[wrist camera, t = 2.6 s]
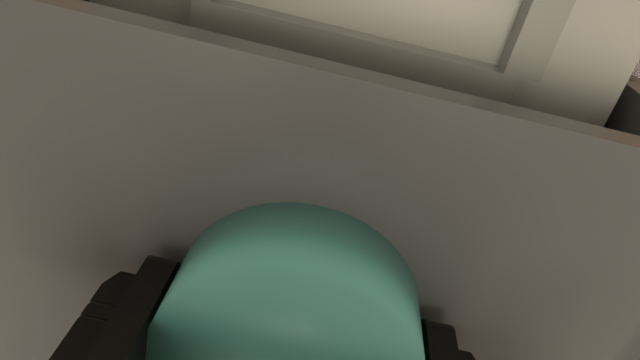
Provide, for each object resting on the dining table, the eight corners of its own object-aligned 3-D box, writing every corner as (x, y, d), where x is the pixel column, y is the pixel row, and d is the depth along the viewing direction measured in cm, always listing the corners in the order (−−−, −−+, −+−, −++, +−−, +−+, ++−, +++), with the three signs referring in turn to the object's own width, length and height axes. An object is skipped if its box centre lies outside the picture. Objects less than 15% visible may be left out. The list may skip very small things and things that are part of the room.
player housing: (77, -61, 16) (-106, -34, 10) (637, 77, 16) (794, 185, 10) (80, 246, 22) (-34, 383, 16) (494, 342, 22) (541, 511, 16)
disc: (191, 175, 12) (150, 237, 9) (453, 237, 12) (470, 312, 10) (170, 360, 14) (135, 439, 12) (380, 407, 15) (381, 494, 12)
